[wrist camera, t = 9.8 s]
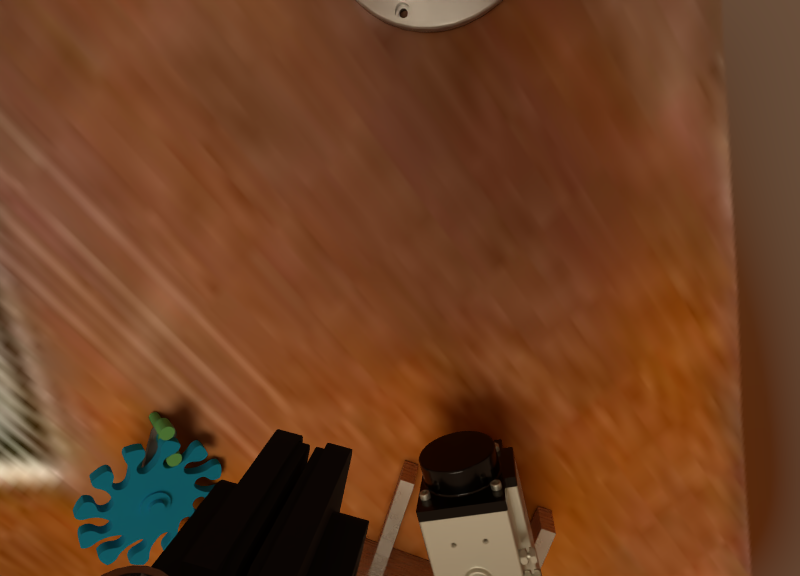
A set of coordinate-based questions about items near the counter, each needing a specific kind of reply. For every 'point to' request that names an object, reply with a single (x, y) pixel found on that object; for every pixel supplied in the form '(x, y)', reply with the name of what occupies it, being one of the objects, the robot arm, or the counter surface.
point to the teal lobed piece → (146, 495)
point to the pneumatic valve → (474, 509)
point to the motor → (401, 572)
